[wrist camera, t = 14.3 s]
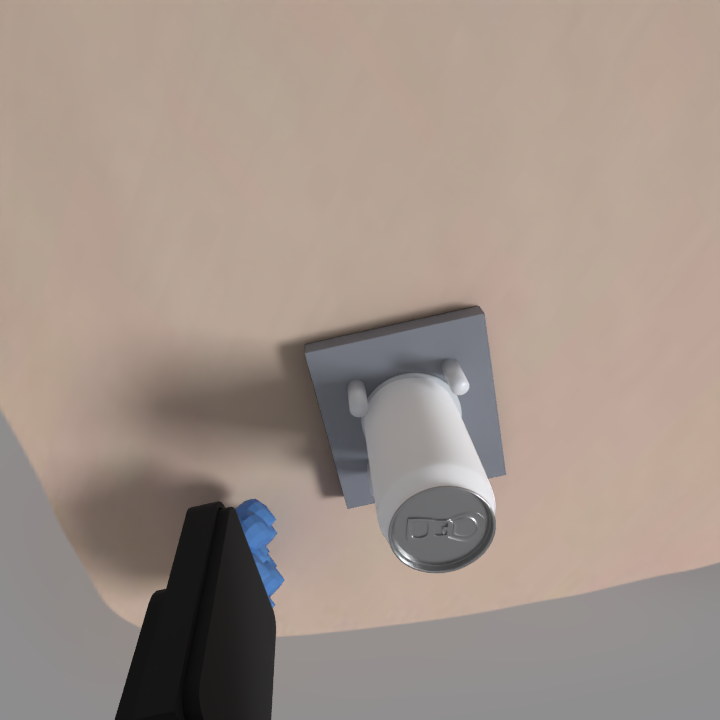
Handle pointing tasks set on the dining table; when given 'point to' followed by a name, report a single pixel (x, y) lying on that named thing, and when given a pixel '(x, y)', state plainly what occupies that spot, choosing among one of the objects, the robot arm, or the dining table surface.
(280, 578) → the grapes
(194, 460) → the dining table surface
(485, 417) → the pin tray
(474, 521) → the can
